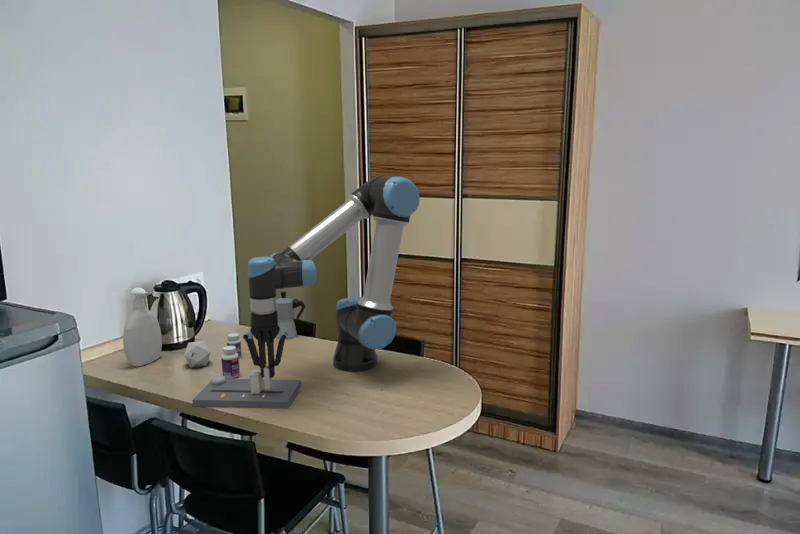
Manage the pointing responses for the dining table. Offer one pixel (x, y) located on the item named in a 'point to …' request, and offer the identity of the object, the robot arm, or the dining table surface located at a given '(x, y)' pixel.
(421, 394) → the dining table surface
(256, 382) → the fader knob
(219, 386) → the console
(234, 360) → the pill bottle
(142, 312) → the soap bottle
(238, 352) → the pill bottle
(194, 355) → the die
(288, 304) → the coffee maker
